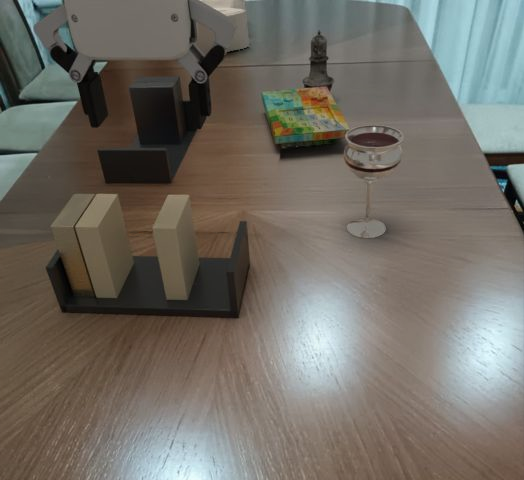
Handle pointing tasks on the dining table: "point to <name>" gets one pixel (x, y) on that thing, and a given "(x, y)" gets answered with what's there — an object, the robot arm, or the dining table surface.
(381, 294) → the dining table surface
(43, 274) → the dining table surface
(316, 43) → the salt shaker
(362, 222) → the wineglass
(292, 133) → the puzzle game
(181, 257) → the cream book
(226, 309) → the black book holder
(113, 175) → the grey book rack
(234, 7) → the wavy white extrusion
